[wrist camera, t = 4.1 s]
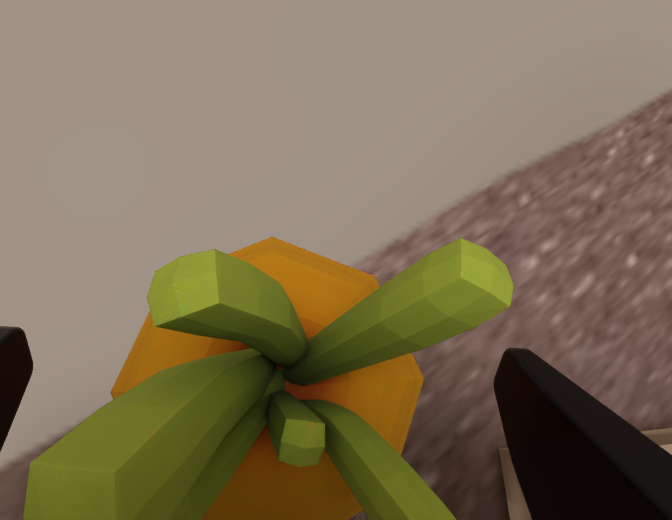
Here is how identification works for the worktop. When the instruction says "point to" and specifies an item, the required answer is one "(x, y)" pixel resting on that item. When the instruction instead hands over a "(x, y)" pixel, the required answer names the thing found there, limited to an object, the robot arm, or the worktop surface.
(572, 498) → the robot arm
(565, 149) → the worktop surface
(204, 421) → the carrot
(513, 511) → the socket board
